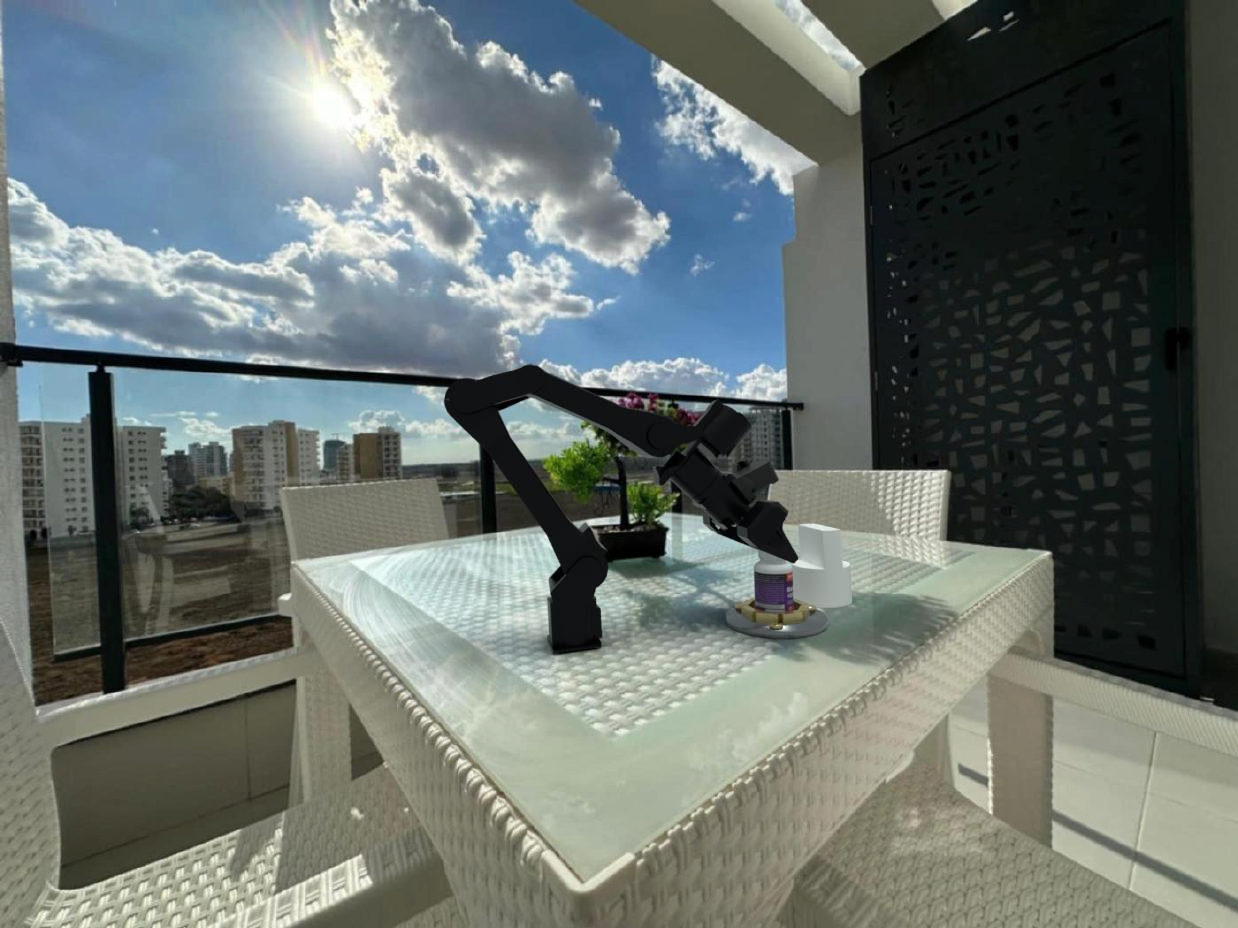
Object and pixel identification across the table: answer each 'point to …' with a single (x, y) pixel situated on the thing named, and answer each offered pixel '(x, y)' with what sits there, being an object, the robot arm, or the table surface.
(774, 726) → the table surface
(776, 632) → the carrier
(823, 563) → the base with upright slab
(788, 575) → the pill bottle
